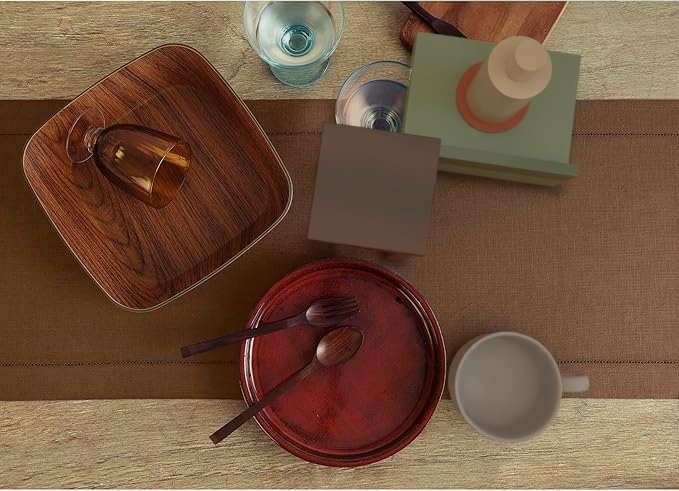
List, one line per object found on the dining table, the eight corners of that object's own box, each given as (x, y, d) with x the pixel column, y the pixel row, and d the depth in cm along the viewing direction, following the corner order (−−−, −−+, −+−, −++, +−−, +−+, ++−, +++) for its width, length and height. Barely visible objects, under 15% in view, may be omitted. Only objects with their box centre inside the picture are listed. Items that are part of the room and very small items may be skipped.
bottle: (466, 68, 66) (496, 21, 54) (521, 69, 66) (564, 22, 54) (466, 123, 65) (496, 88, 53) (521, 124, 65) (565, 89, 53)
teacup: (433, 416, 67) (448, 434, 59) (448, 319, 68) (464, 324, 60) (557, 436, 68) (588, 456, 60) (570, 338, 68) (602, 346, 60)
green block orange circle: (412, 45, 70) (421, 19, 63) (567, 68, 70) (593, 44, 63) (396, 164, 69) (403, 151, 62) (552, 187, 69) (577, 176, 62)
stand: (325, 163, 69) (323, 121, 51) (412, 175, 69) (441, 138, 51) (312, 250, 68) (306, 239, 50) (400, 263, 68) (425, 256, 50)
